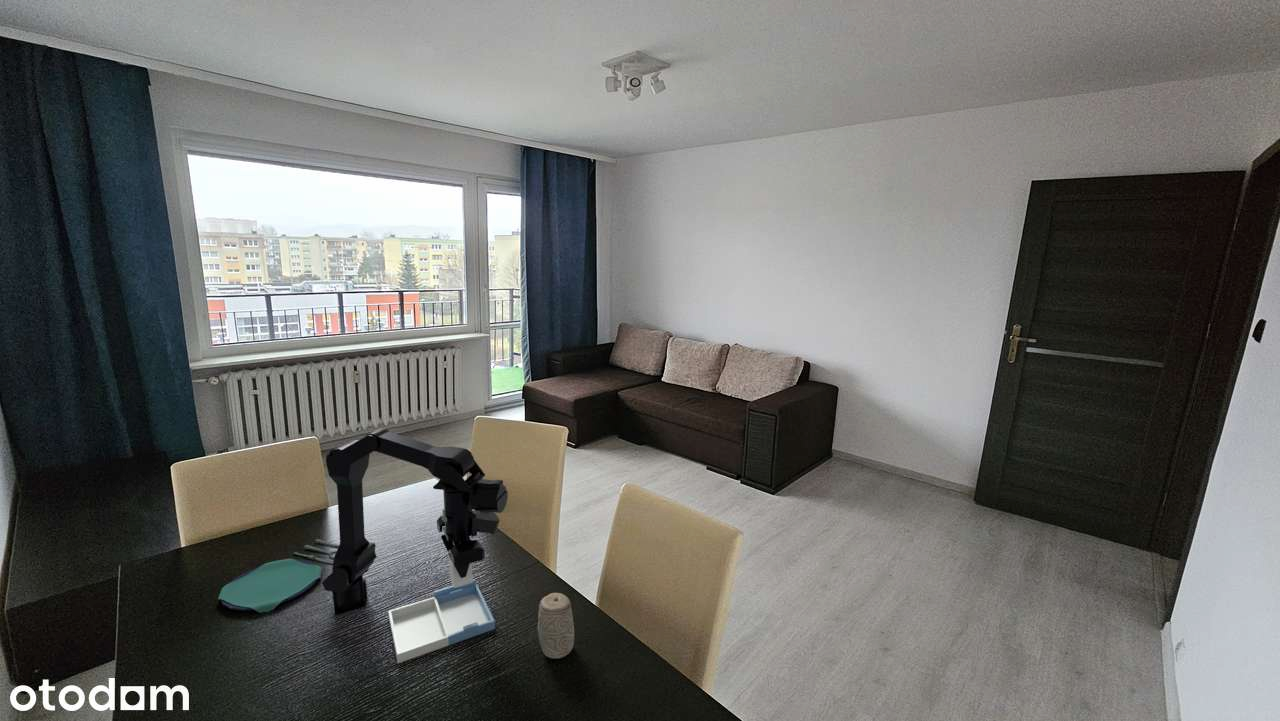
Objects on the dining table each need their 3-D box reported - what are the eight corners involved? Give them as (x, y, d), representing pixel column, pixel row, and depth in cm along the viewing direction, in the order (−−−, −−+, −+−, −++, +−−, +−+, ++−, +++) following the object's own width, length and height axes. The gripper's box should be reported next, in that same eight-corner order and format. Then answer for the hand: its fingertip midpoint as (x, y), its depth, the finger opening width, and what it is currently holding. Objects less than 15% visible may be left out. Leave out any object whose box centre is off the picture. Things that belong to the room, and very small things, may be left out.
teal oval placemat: (198, 605, 118) (197, 596, 118) (313, 541, 146) (313, 534, 146) (264, 625, 113) (263, 615, 112) (370, 554, 141) (369, 547, 141)
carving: (541, 639, 110) (541, 589, 108) (576, 641, 110) (576, 591, 107) (534, 662, 104) (534, 609, 101) (571, 663, 103) (571, 611, 101)
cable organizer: (397, 665, 102) (396, 649, 101) (388, 618, 115) (387, 604, 114) (494, 630, 112) (494, 616, 111) (476, 591, 125) (475, 578, 124)
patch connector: (454, 588, 111) (452, 552, 110) (450, 578, 115) (448, 543, 113) (472, 582, 113) (471, 547, 112) (468, 573, 117) (466, 538, 115)
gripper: (508, 516, 107) (509, 583, 110) (483, 483, 123) (485, 542, 126) (453, 530, 101) (456, 600, 104) (434, 493, 117) (438, 555, 120)
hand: (461, 572), depth 114 cm, fingers closed on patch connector, 4 cm apart
